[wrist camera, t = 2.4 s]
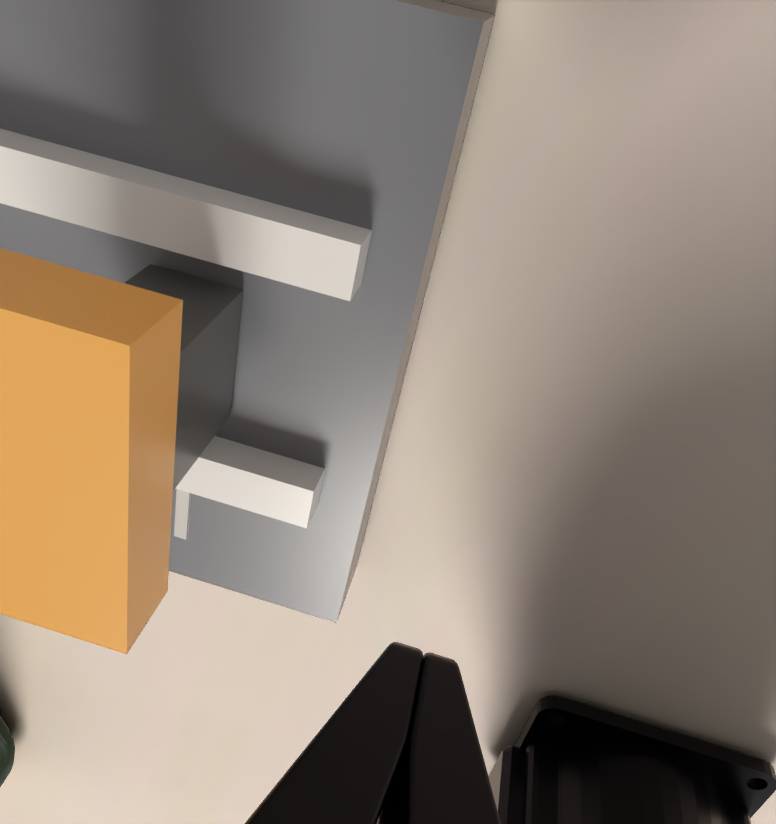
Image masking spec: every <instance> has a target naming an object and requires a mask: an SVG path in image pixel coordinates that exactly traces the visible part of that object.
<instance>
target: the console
mask: <svg viewBox="0 0 776 824" xmlns="http://www.w3.org/2000/svg"><path fill="white" fill-rule="evenodd" d="M494 18H495V15H494V14H490V13H486V12H482V11H478V10H474V9H470V8H466V7H462V6H458V5H454V4H450V3H446V2H442V1H438V0H0V248H3V249H6V250H10V251H13V252H17V253H20V254H24V255H27V256H31V257H34V258H38V259H41V260H45V261H48V262H52V263H55V264H59V265H62V266H66V267H69V268H73V269H76V270H80V271H83V272H87V273H90V274H94V275H97V276H101V277H104V278H108V279H111V280H115V281H118V282H122V283H125V282H126V281H127V280H129V279H130V278H132V277H133V276H134V275H136V274H137V273H139V272H140V271H142V270H143V269H144V268H146V267H147V266H149V265H150V264H152V265H155V266H159V267H162V268H166V269H169V270H173V271H176V272H180V273H183V274H187V275H190V276H194V277H198V278H201V279H205V280H208V281H212V282H215V283H219V284H222V285H226V286H229V287H233V288H236V289H240V290H243V295H242V305H241V315H240V324H239V334H238V344H237V354H236V364H235V373H234V383H233V393H232V403H231V413H230V416H229V418H228V419H227V420H226V422H225V423H224V424H223V426H222V427H221V428H220V430H219V431H218V432H217V434H216V435H215V436H214V438H213V439H212V440H211V442H210V443H209V444H208V446H207V447H206V448H205V449H204V451H203V452H202V453H201V455H200V456H199V457H198V459H197V460H196V461H195V463H194V464H193V465H192V467H191V468H190V469H189V471H188V472H187V473H186V475H185V476H184V477H183V479H182V480H181V481H180V483H179V484H178V485H177V487H176V488H175V489H174V491H173V497H172V516H171V535H170V553H169V571H172V572H175V573H178V574H181V575H184V576H188V577H191V578H194V579H197V580H200V581H204V582H207V583H210V584H213V585H216V586H220V587H223V588H226V589H229V590H232V591H236V592H239V593H242V594H245V595H249V596H252V597H255V598H258V599H261V600H265V601H268V602H271V603H274V604H277V605H281V606H284V607H287V608H290V609H293V610H297V611H300V612H303V613H306V614H309V615H313V616H316V617H319V618H322V619H325V620H329V621H332V622H335V623H337V620H338V618H339V615H340V612H341V609H342V606H343V603H344V601H345V598H346V595H347V592H348V589H349V586H350V584H351V581H352V578H353V575H354V572H355V569H356V567H357V563H358V559H359V555H360V551H361V547H362V543H363V539H364V535H365V531H366V527H367V523H368V519H369V515H370V511H371V507H372V503H373V499H374V495H375V491H376V487H377V483H378V479H379V475H380V471H381V467H382V463H383V459H384V455H385V451H386V447H387V443H388V439H389V436H390V432H391V428H392V424H393V420H394V416H395V412H396V408H397V404H398V400H399V396H400V392H401V388H402V384H403V380H404V376H405V372H406V368H407V364H408V360H409V356H410V352H411V348H412V344H413V340H414V336H415V332H416V328H417V324H418V320H419V316H420V312H421V308H422V304H423V300H424V296H425V292H426V288H427V284H428V280H429V276H430V272H431V268H432V264H433V260H434V256H435V252H436V248H437V244H438V240H439V237H440V233H441V229H442V225H443V221H444V217H445V213H446V209H447V205H448V201H449V197H450V193H451V189H452V185H453V181H454V177H455V173H456V169H457V165H458V161H459V157H460V153H461V149H462V145H463V141H464V137H465V133H466V129H467V125H468V121H469V117H470V113H471V109H472V105H473V101H474V97H475V93H476V89H477V85H478V81H479V77H480V73H481V69H482V65H483V61H484V57H485V53H486V49H487V45H488V41H489V38H490V34H491V30H492V26H493V22H494Z"/></svg>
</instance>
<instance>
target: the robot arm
mask: <svg viewBox="0 0 776 824" xmlns="http://www.w3.org/2000/svg"><path fill="white" fill-rule="evenodd" d="M775 790H776V775H775V772H774V768H773V766H772V765H771V764H770V763H769V762H766V761H764V760H762V759H759V758H755V757H752V756H749V755H746V754H743V753H739V752H736V751H733V750H730V749H727V748H723V747H720V746H717V745H714V744H711V743H707V742H704V741H701V740H698V739H695V738H691V737H688V736H685V735H682V734H679V733H675V732H672V731H669V730H666V729H663V728H659V727H656V726H653V725H650V724H647V723H643V722H640V721H637V720H634V719H631V718H627V717H624V716H621V715H618V714H614V713H611V712H608V711H605V710H602V709H598V708H595V707H592V706H589V705H586V704H582V703H579V702H576V701H573V700H570V699H566V698H563V697H559V696H546V697H543V698H541V699H540V700H539V701H538V702H537V704H536V706H535V708H534V710H533V712H532V714H531V716H530V718H529V720H528V721H527V723H526V725H525V727H524V729H523V731H522V733H521V735H520V737H519V739H518V741H517V743H516V745H515V746H514V745H509V746H508V747H506V748H505V749H503V750H502V752H501V754H500V756H499V758H498V760H497V762H496V764H495V766H494V768H493V770H492V772H491V774H490V776H489V777H488V773H487V770H486V766H485V762H484V759H483V755H482V751H481V747H480V744H479V740H478V736H477V733H476V729H475V725H474V721H473V718H472V714H471V710H470V707H469V703H468V699H467V695H466V692H465V688H464V684H463V681H462V677H461V673H460V670H459V667H458V665H457V663H456V662H455V661H454V660H452V659H449V658H446V657H443V656H440V655H437V654H433V653H426V654H425V655H424V656H423V653H422V651H421V650H420V649H418V648H414V647H411V646H408V645H405V644H402V643H398V642H393V643H391V644H390V645H389V646H388V647H387V648H386V650H385V651H384V652H383V653H382V655H381V656H380V657H379V658H378V659H377V661H376V662H375V663H374V664H373V666H372V667H371V668H370V669H369V671H368V672H367V673H366V674H365V676H364V677H363V678H362V679H361V680H360V682H359V683H358V684H357V685H356V687H355V688H354V689H353V690H352V692H351V693H350V694H349V695H348V697H347V698H346V699H345V700H344V701H343V703H342V704H341V705H340V706H339V708H338V709H337V710H336V711H335V713H334V714H333V715H332V716H331V718H330V719H329V720H328V721H327V723H326V724H325V725H324V726H323V727H322V729H321V730H320V731H319V732H318V734H317V735H316V736H315V737H314V739H313V740H312V741H311V742H310V744H309V745H308V746H307V747H306V748H305V750H304V751H303V752H302V753H301V755H300V756H299V757H298V758H297V760H296V761H295V762H294V763H293V765H292V766H291V767H290V768H289V770H288V771H287V772H286V773H285V774H284V776H283V777H282V778H281V779H280V781H279V782H278V783H277V784H276V786H275V787H274V788H273V789H272V791H271V792H270V793H269V794H268V795H267V797H266V798H265V799H264V800H263V802H262V803H261V804H260V805H259V807H258V808H257V809H256V810H255V812H254V813H253V814H252V815H251V817H250V818H249V819H248V820H247V821H246V823H245V824H751V821H750V818H751V817H752V816H753V815H754V814H755V812H756V811H757V810H758V809H759V808H760V807H761V806H762V805H763V804H764V802H765V801H766V800H767V799H768V798H769V797H770V796H771V795H772V794H773V793H774V791H775Z"/></svg>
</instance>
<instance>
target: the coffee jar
mask: <svg viewBox="0 0 776 824" xmlns="http://www.w3.org/2000/svg"><path fill="white" fill-rule="evenodd" d="M14 753H15V746H14V741H13V738H12V735H11V733H10V730H9V728H8V727H7V725H6V724H5V722H4V721H3V719H2V718H1V716H0V787H1V785H2V784H3V782H4V781H5V779H6V778H7V776H8V774H9V773H10V771H11V769H12V766H13V762H14Z"/></svg>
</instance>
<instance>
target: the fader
mask: <svg viewBox="0 0 776 824" xmlns="http://www.w3.org/2000/svg"><path fill="white" fill-rule="evenodd" d="M242 295H243V290H240V289H236V288H233V287H229V286H226V285H222V284H219V283H215V282H212V281H208V280H205V279H201V278H198V277H194V276H190V275H187V274H183V273H180V272H176V271H173V270H169V269H166V268H162V267H159V266H155V265H152V264H150V265H149V266H147V267H146V268H144V269H143V270H142V271H140V272H139V273H137V274H136V275H134V276H133V277H132V278H130V279H129V280H127V281H126V282H125V283H122V282H118V281H115V280H111V279H108V278H104V277H101V276H97V275H94V274H90V273H87V272H83V271H80V270H76V269H73V268H69V267H66V266H62V265H59V264H55V263H52V262H48V261H45V260H41V259H38V258H34V257H31V256H27V255H24V254H20V253H17V252H13V251H10V250H6V249H3V248H0V614H3V615H6V616H9V617H12V618H15V619H18V620H22V621H25V622H28V623H31V624H34V625H37V626H40V627H43V628H46V629H50V630H53V631H56V632H59V633H62V634H65V635H68V636H71V637H74V638H78V639H81V640H84V641H87V642H90V643H93V644H96V645H99V646H102V647H106V648H109V649H112V650H115V651H118V652H121V653H124V654H127V653H128V652H129V650H130V649H131V647H132V645H133V644H134V642H135V641H136V639H137V638H138V636H139V635H140V633H141V631H142V630H143V628H144V627H145V625H146V624H147V622H148V621H149V619H150V617H151V616H152V614H153V613H154V611H155V610H156V608H157V606H158V605H159V603H160V602H161V600H162V599H163V597H164V596H165V594H166V592H167V591H168V572H169V553H170V535H171V516H172V497H173V491H174V489H175V488H176V487H177V485H178V484H179V483H180V481H181V480H182V479H183V477H184V476H185V475H186V473H187V472H188V471H189V469H190V468H191V467H192V465H193V464H194V463H195V461H196V460H197V459H198V457H199V456H200V455H201V453H202V452H203V451H204V449H205V448H206V447H207V446H208V444H209V443H210V442H211V440H212V439H213V438H214V436H215V435H216V434H217V432H218V431H219V430H220V428H221V427H222V426H223V424H224V423H225V422H226V420H227V419H228V418H229V416H230V413H231V403H232V393H233V383H234V373H235V364H236V354H237V344H238V334H239V324H240V315H241V305H242Z"/></svg>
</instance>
